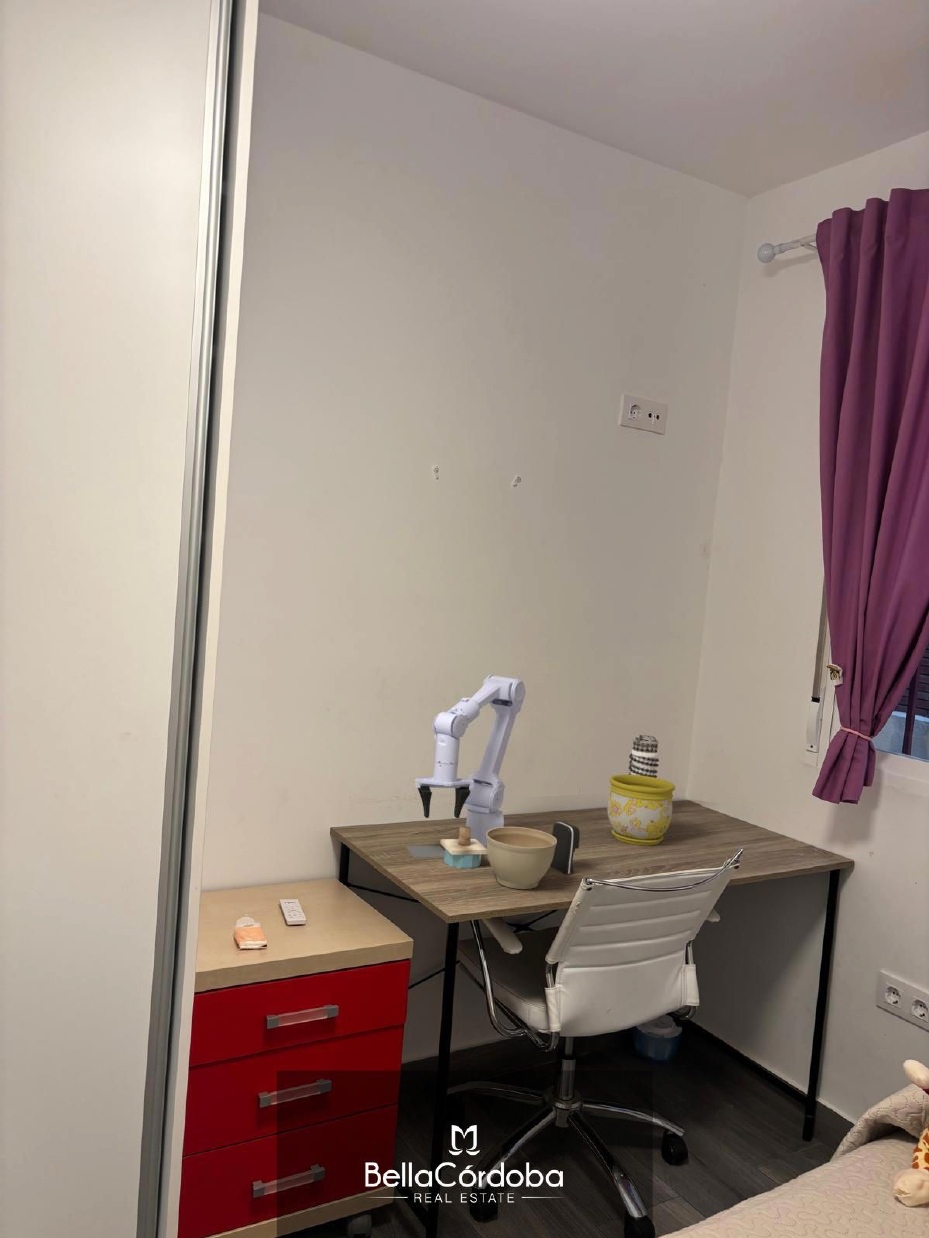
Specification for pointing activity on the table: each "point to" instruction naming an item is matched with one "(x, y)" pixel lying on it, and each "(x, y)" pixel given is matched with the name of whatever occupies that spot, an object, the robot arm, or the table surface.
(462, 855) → the bowl
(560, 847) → the battery charger
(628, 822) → the flowerpot
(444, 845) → the lid
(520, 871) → the planter bowl
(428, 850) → the mat
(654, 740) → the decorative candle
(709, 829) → the table surface
